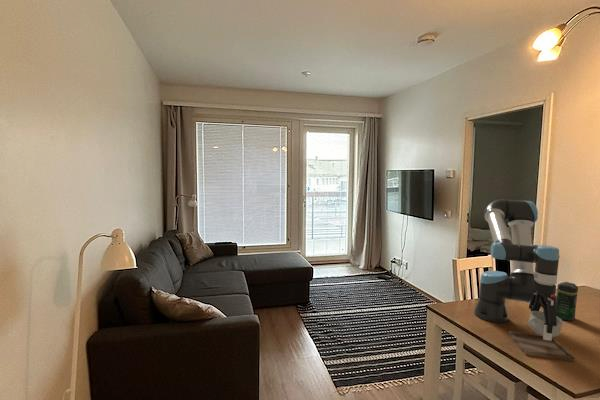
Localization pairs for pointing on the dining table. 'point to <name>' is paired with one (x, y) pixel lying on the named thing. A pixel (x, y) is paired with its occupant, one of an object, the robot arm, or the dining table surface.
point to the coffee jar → (566, 301)
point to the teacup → (538, 323)
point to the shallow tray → (540, 346)
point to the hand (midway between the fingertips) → (540, 333)
